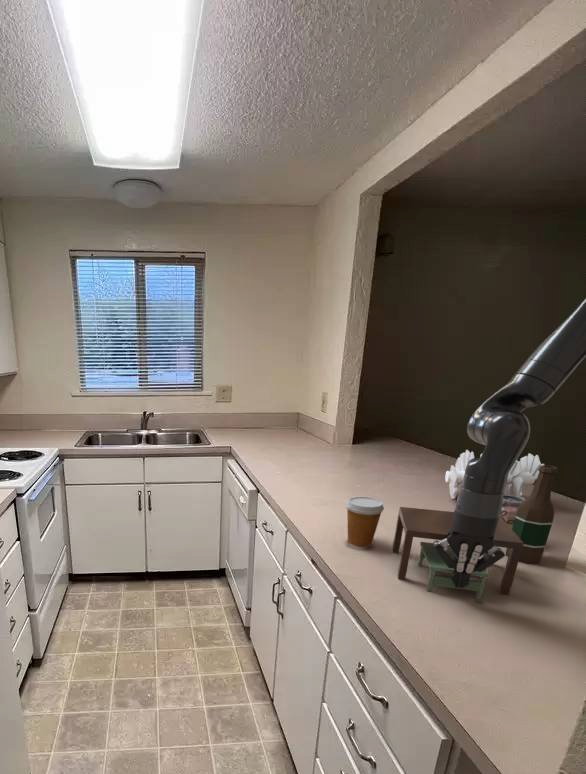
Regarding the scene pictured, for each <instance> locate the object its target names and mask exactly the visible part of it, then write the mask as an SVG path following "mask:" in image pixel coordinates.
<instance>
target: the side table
mask: <svg viewBox="0 0 586 774" xmlns="http://www.w3.org/2000/svg"><path fill="white" fill-rule="evenodd" d="M453 515H454V511H447V510H437V509H427V508H418V507H417V508H416V507H405V506H399V508H398V514H397V519H396V523H395V531H394V536H393V542H392V547H391V553H392V554H400V550H401V554H400V560H399V566H398V570H397V579H398V580H403V581H405V580H406V577H407V572H408V567H409V561H410V556H411V552H412V547H413V540H414V538H418V539H426V540H434V541H441V540H443V539H445V538H446V535H447V534H448V533H449V532H450V529H451V524H452V520H453ZM403 532H404V538H403ZM402 539H403V543H402ZM494 541H495V546H496V547H498V548H504V549H505V548H506V549H507V548H511V549H510V553H509V557H508V556H507V560H506V564H505V567H504V571H503V574H502V578H501V581H500V586H499V589H498V592H499V593H500V594H501V595H507V596H509V595H510V592H511V589H512V585H513V582H514V579H515V576H516V572H517V568H518V565H519V558H520V555H521V551H522V548H523V545H524V543H523V542H522V541H521V539H520V538H519V537H518V536H517V535H516V534H515V533H514V532H513V530H512V529H511V528H510V527H509V526H508V525H507V524H506V522H505V521H504V520H503V519H502V518H501V517H500V516H499V520H498V524H497V527H496V531H495V535H494ZM401 543H402V549H400V548H401ZM486 554H488V551H487V552H486V553H485V554H483V555H482V557H483V556H485V555H486Z"/></svg>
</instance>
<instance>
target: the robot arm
mask: <svg viewBox="0 0 586 774" xmlns="http://www.w3.org/2000/svg"><path fill="white" fill-rule="evenodd" d="M585 358H586V297H585V298H584V300H582V302H581V303H580V304H579V305H577V307H576V308H575V310H573V312H571V313H570V314H569V316H568V317H567V318H565V320H563V322H561V323H560V324H559V326H558V327H557V328H555V329H554V331H552V333H550V335H548V336H547V337H546V338H545V339H544V340H543V341H542V342H540V344H539V345H538V346H537V347H536V348H535V349H534V351H533V352H532V353H531V354H530V355H529V356H528V358H527V359H526V360H525V361H524V362H523V364H521V366H520V367H519V368H518V369H517V371H516V372H515V373H514V374H513V376H512V377H511V379H510V380H509V381H508V382H507V383H506V384H504V385H503V386H502V387H501V388H499V389H498V390H497V391H496V392H494V393H492V395H491V396H490V397H489V398H487V399H486V400H485V401H483V402H482V404H480V405H479V406H478V407H477V408H476V410H475V411H473V413H472V415H471V416H470V418H469V420H468V422H467V427H466V432H467V436H468V437H469V438H470V439H471V440H472V441H474V442H475V443H478V444H480V445H484V446H485V448H484V449H483V451H482V453H481V454H482V456H481V455H480V456H481V457H480V456H479V457H474V458H473V459H471V460H470V461H469V462H468V464H467V466H466V469H465V474H464V478H463V482H462V483H461V487H460V489H459V492H458V495H457V499H456V501H455V508H454V511H453V512H454V515H453V520H452V524H451V529H450V532H449V533H448V534H447V535H446V538H445V539H443V540H434V541H433V542H432V543H433V544H434V546H435V548H436V550H437V552H438V553H439V554H440V556H441V557H442V559H443V560H444V562H445V563H446V565H447V566H448V568H453V569H454V572H453V573H452V576H451V577H452V581H453V583H454V584H455V586H456V587H459V588H464V587H465V586H467V585H468V584H469V580H471V577H472V575H471V573H472V572H476V571H478V572H482V571H484V570H485V569H486V570H487V569H489V567H491V566H493V565H494V564H495V563H497V562H498V561H501V560H502V559H503V558H505V556H506V553H504V551H503V550H502V549H501V547H496V546H495V541H494V535H495V531H496V527H497V524H498V520H499V516H500V513H501V511H502V504H503V496H504V495H505V490H506V487H507V484H506V483H507V479H508V475H509V471H510V470H511V468H512V467H513V465H514V464H515V462H516V461H518V459H519V457H520V456H521V454H522V453H523V450H524V449H525V447H526V445H527V443H528V441H529V438H530V435H531V425H530V421H529V418H528V417H527V415H525V414H524V413H522V412H523V411H524V410H526V409H528V408H532V407H537V406H542V405H544V404H545V403H546V402H548V401H549V400H550V399H551V398H552V397H553V395H555V393H556V392H557V391H558V390H559V388H561V386H562V385H563V384H564V383H565V381H566V380H567V379H568V378H569V377H570V375H572V374H573V372H574V371H575V370H576V368H577V367H578V366H579V365H580V364H581V362H582V361H583V360H584V359H585ZM447 545H450V547H451V548H452V550H453V552H454V553H455V561H453V560H451V558H450V557H449V555H448V554H447V552H446V550H447V549H448V547H447ZM487 551H488V554H486V555H485V556H483V554H485V553H486V552H487ZM478 558H479V560H478Z"/></svg>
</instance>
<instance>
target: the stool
mask: <svg viewBox="0 0 586 774" xmlns="http://www.w3.org/2000/svg"><path fill="white" fill-rule="evenodd" d="M419 545H420V552H419V555H418V556H419V557H418V561H417V565H418V566H419V567H423V564H424V559H425V561H426V564H427V566H428V569H429V570H430V571H429V576H428V579H427V585H426V591H427V592H432V590H433V589H432V588H433V586H439V587H445V588H451V589H458V590H459V589H460V590H464V591H465V590H466V591H472V592H476V594H475V597H476V599H482V595H483V593H484V589H485V585H486V581H487V578H489V576H490V574H489V572H488V570H487V569H485V570H484V571H482V572H478V571H476V572H472V573H471V576H475V577H480V578H479V580H478V579H477V580H476V579H470V580H469V584H468V585H467V586H465V587H464V588H459V587H456V586H455V584H454V583H453V581H452V576H447V575H439V574H436V571H437V572H442V573H443V572H444V573H451V574H453V572H454V569H453V568H448V566H447V565H446V563H445V562H444V560H443V559H442V557H441V556H440V554H439V553H438V552H437V550H436V548H435V546H434V544H433V542H426V541H420V542H419ZM447 547H448V549H447V550H446V552H447V554H448V555H449V557H450V558H451V560H453V561H455V553H454V552H453V550H452V548H451V547H450V545H449V544H448V545H447ZM479 559H480V557H479V558H478V560H479Z"/></svg>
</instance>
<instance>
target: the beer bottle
mask: <svg viewBox="0 0 586 774" xmlns="http://www.w3.org/2000/svg"><path fill="white" fill-rule="evenodd" d="M538 471H539V474H538V477H537V479H535V482H534V484H533V488H532V490H531V493H530V495H529V496H528V497H526V498H525V500H524V501H523V502H522V503H521V505H520V506H519V508H518V511H517V513H516V516H515V520H514V523H513V527H512V530H513V532H514V533H515V534H516V535H517V536H518V537H519V538H520V539H521V541H522V542H523V543H524V545H523V548H522V551H521V555H520V558H519V562H520V563H522V564H523V563H524V564H530V565H531V564H539V563H540V562H541V560H542V558H543V555H544V551H545V548H546V545H547V542H548V540H549V536H550V532H551V529H552V526H553V522H554V517H555V507H554V504H553V502H552V500H551V497H552V490H553V486H554V481H555V477H556V474H558V467H557V466H554V465H547V464H546V465H545V464H544V465H542V466H540V468H539V469H538ZM510 549H511V548H506V550H505V556H506V557H507V558H508V557H509V553H510ZM519 562H518V563H519Z"/></svg>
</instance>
